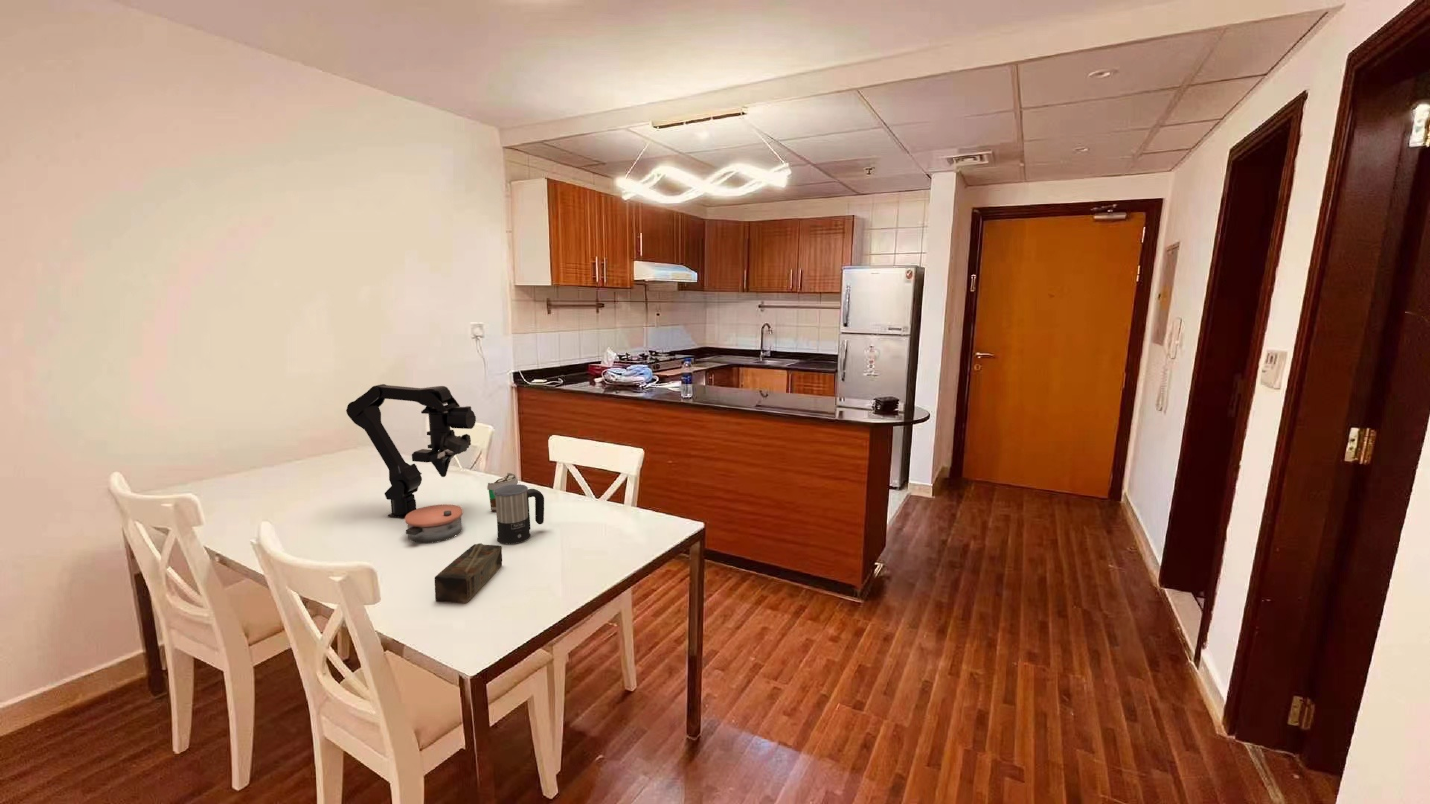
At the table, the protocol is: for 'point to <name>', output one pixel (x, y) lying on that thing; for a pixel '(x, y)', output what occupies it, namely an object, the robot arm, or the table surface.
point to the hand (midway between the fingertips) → (443, 476)
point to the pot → (434, 532)
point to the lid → (433, 515)
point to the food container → (507, 480)
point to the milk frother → (516, 512)
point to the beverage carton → (468, 573)
